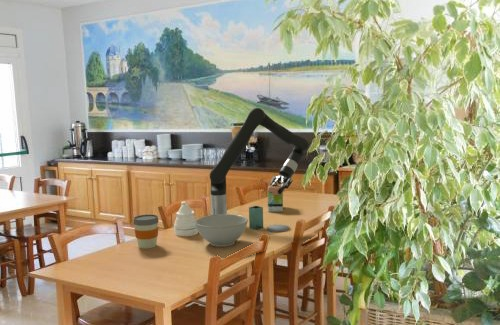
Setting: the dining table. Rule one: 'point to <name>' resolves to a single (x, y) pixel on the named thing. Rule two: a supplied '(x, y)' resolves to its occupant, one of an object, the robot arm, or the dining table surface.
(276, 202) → the tea box
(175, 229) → the honey pot
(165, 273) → the dining table surface
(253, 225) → the tea tin
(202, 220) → the decorative bowl
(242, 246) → the dining table surface
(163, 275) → the dining table surface
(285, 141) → the robot arm
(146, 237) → the reusable coffee cup
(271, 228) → the slate mat
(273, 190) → the tin lid
